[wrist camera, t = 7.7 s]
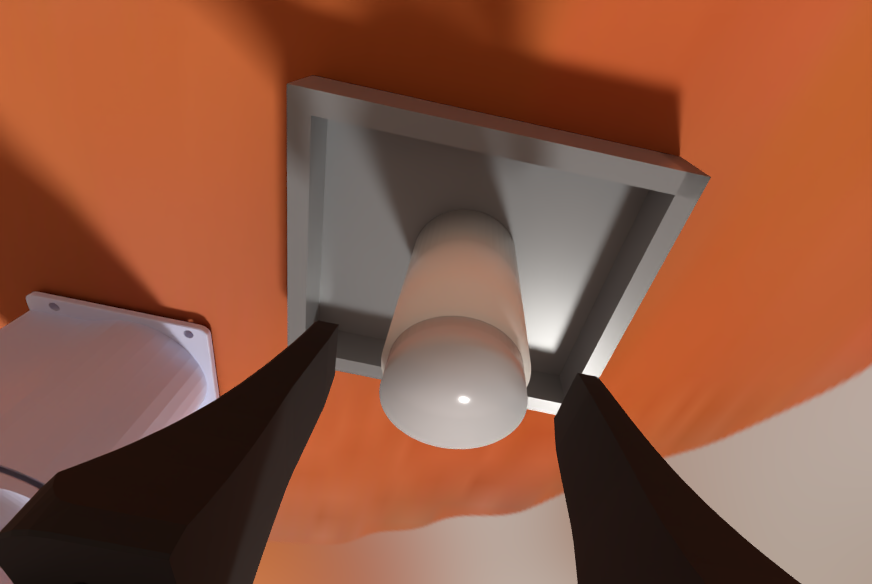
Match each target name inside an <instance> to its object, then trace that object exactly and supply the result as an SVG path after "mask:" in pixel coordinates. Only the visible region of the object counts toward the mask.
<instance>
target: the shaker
mask: <svg viewBox="0 0 872 584" xmlns="http://www.w3.org/2000/svg"><path fill="white" fill-rule="evenodd" d="M381 368H382V372H383V377H382V380H381V384H380V391H379V394H380V401H381V405H382V407H383V410H384V412H385V413H386V415H387V417H388V418H389V419H390V421H391V422H392V423H393V424H394V425H395V426H396V427H397V428H398V429H400V430H401V431H402V432H404V433H405V434H407V435H408V436H410V437H412V438H414V439H416V440H418V441H420V442H423V443H426V444H429V445H433V446H436V447H442V448H449V449H470V448H477V447H482V446H486V445H489V444H492V443H495V442H497V441H499V440H501V439H503V438H504V437H506V436H507V435H509V434H510V433H511V432H513V431H514V430H515V429H516V428H517V427H518V425H519V424H520V423H521V421H522V420H523V418H524V416H525V413H526V410H527V405H528V397H527V386H528V383H529V381H530V376H531V361H530V354H529V347H528V339H527V332H526V324H525V317H524V310H523V302H522V295H521V287H520V280H519V273H518V265H517V258H516V251H515V245H514V242H513V239H512V237H511V235H510V234H509V232H508V231H507V229H506V228H505V227H504V226H503V225H502V224H501V223H500V222H499V221H497V220H496V219H494V218H493V217H491V216H489V215H487V214H485V213H482V212H478V211H473V210H455V211H450V212H447V213H444V214H441V215H439V216H437V217H436V218H434V219H433V220H431V221H430V222H429V223H428V224H427V225H426V226H425V227H424V228H423V229H422V231H421V232H420V234H419V235H418V237H417V240H416V243H415V246H414V249H413V253H412V256H411V259H410V263H409V266H408V269H407V272H406V276H405V279H404V282H403V286H402V289H401V292H400V296H399V299H398V302H397V305H396V309H395V312H394V315H393V319H392V322H391V325H390V328H389V332H388V335H387V338H386V342H385V345H384V348H383V352H382V357H381Z"/></svg>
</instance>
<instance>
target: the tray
mask: <svg viewBox="0 0 872 584" xmlns="http://www.w3.org/2000/svg"><path fill="white" fill-rule="evenodd" d="M710 178H711V177H710V176H708V175H707V174H705V173H704V172H702V171H701V170H699V169H698V168H696V167H695V166H693V165H692V164H690V163H689V162H687V161H686V160H684V159H683V158H681V157H679V156H675V155H670V154H666V153H661V152H657V151H652V150H648V149H643V148H639V147H634V146H630V145H625V144H621V143H616V142H612V141H607V140H603V139H598V138H593V137H589V136H584V135H580V134H575V133H571V132H566V131H562V130H557V129H553V128H548V127H544V126H539V125H535V124H530V123H526V122H521V121H517V120H512V119H508V118H503V117H499V116H494V115H490V114H485V113H481V112H476V111H472V110H467V109H463V108H458V107H454V106H449V105H445V104H440V103H436V102H431V101H427V100H422V99H418V98H413V97H409V96H404V95H400V94H395V93H391V92H386V91H382V90H377V89H373V88H368V87H364V86H359V85H355V84H350V83H346V82H341V81H337V80H332V79H328V78H323V77H319V76H314V75H312V76H309V77H306V78H303V79H299V80H296V81H293V82H290V83H287V291H288V346H289V345H290V344H292V343H293V342H294V341H295V340H296V339H297V338H298V337H299V336H301V335H302V334H303V333H304V332H305V331H306V330H307V329H308V328H309V327H310V326H311V325H312V324H313V323H315V322H316V321H318V320H319V321H324V322H329V323H334V324H339V329H338V341H337V353H336V366H335V370H337V371H342V372H347V373H352V374H357V375H362V376H366V377H371V378H376V379H381V380H382V377H383V372H382V368H381V357H382V352H383V348H384V345H385V342H386V338H387V335H388V332H389V328H390V325H391V322H392V319H393V315H394V312H395V309H396V305H397V302H398V299H399V296H400V292H401V289H402V286H403V282H404V279H405V276H406V272H407V269H408V266H409V263H410V259H411V256H412V253H413V249H414V246H415V243H416V240H417V237H418V235H419V234H420V232H421V231H422V229H423V228H424V227H425V226H426V225H427V224H428V223H429V222H430V221H431V220H433V219H434V218H436V217H437V216H439V215H441V214H444V213H447V212H450V211H455V210H473V211H478V212H482V213H485V214H487V215H489V216H491V217H493V218H494V219H496V220H497V221H499V222H500V223H501V224H502V225H503V226H504V227H505V228H506V229H507V231H508V232H509V234H510V235H511V237H512V239H513V242H514V245H515V251H516V258H517V265H518V273H519V280H520V287H521V295H522V302H523V310H524V317H525V324H526V332H527V339H528V347H529V354H530V361H531V376H530V381H529V383H528V386H527V397H528V405H527V409H529V410H534V411H539V412H544V413H549V414H554V415H556V414H557V412H558V410H559V408H560V406H561V404H562V402H563V400H564V398H565V396H566V394H567V392H568V390H569V388H570V386H571V384H572V382H573V380H574V379H575V377H576V375H577V373H581V374H586V375H591V376H596V377H598V378H599V377H600V375H601V373H602V372H603V370H604V368H605V366H606V364H607V363H608V361H609V359H610V357H611V355H612V354H613V352H614V350H615V348H616V347H617V345H618V343H619V341H620V339H621V338H622V336H623V334H624V332H625V330H626V329H627V327H628V325H629V323H630V321H631V320H632V318H633V316H634V314H635V312H636V311H637V309H638V307H639V305H640V303H641V302H642V300H643V298H644V296H645V294H646V293H647V291H648V289H649V287H650V285H651V284H652V282H653V280H654V278H655V277H656V275H657V273H658V271H659V269H660V268H661V266H662V264H663V262H664V260H665V259H666V257H667V255H668V253H669V251H670V250H671V248H672V246H673V244H674V242H675V241H676V239H677V237H678V235H679V233H680V232H681V230H682V228H683V226H684V224H685V223H686V221H687V219H688V217H689V216H690V214H691V212H692V210H693V208H694V207H695V205H696V203H697V201H698V199H699V198H700V196H701V194H702V192H703V190H704V189H705V187H706V185H707V183H708V181H709V180H710Z"/></svg>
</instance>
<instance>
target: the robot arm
mask: <svg viewBox="0 0 872 584" xmlns="http://www.w3.org/2000/svg"><path fill="white" fill-rule="evenodd" d="M26 302H27V304H28V307H29V309H30V310H29V311H28V312H26V313H25V314H23V315H22V316H20V317H18V318H17V319H15V320H14V321H12V322H11V323H9V324H7V325H6V326H4V327H3V328H1V329H0V584H253V581H254V578H255V575H256V572H257V569H258V566H259V563H260V560H261V557H262V554H263V551H264V549H265V546H266V543H267V540H268V537H269V534H270V532H271V529H272V526H273V523H274V520H275V518H276V515H277V512H278V509H279V507H280V504H281V501H282V498H283V496H284V493H285V490H286V487H287V485H288V483H289V480H290V478H291V476H292V473H293V471H294V469H295V467H296V465H297V463H298V461H299V458H300V456H301V454H302V452H303V450H304V448H305V446H306V444H307V442H308V439H309V437H310V435H311V433H312V431H313V429H314V427H315V425H316V423H317V420H318V418H319V416H320V414H321V412H322V410H323V408H324V405H325V402H326V400H327V397H328V394H329V391H330V388H331V385H332V382H333V379H334V376H335V366H336V353H337V341H338V329H339V324H334V323H329V322H324V321H319V320H318V321H316V322H315V323H313V324H312V325H311V326H310V327H309V328H308V329H307V330H306V331H305V332H304V333H303V334H302V335H301V336H299V337H298V338H297V339H296V340H295V341H294V342H293V343H292V344H290V345H289V346H288V347H287V348H286V349H285V350H283V351H282V352H281V353H280V354H278V355H277V356H276V357H275V358H274V359H272V360H271V361H270V362H269V363H267V364H266V365H265V366H264V367H262V368H261V369H259V370H258V371H257V372H255V373H254V374H253V375H251V376H250V377H249V378H247V379H246V380H244V381H243V382H242V383H240V384H239V385H237V386H236V387H234V388H233V389H231V390H230V391H228V392H227V393H225V394H224V395H222V396H220V397H219V390H218V383H217V375H216V368H215V360H214V353H213V345H212V337H211V333H210V330H209V329H208V328H207V327H205V326H203V325H199V324H195V323H190V322H185V321H180V320H175V319H170V318H165V317H160V316H155V315H150V314H145V313H141V312H136V311H131V310H126V309H121V308H116V307H111V306H106V305H101V304H96V303H91V302H87V301H82V300H77V299H72V298H67V297H62V296H57V295H52V294H47V293H42V292H36V291H34V292H32V293H30V294H28V295H27V296H26ZM190 331H191V332H192V333H191V332H190ZM554 426H555V442H556V452H557V458H558V463H559V468H560V473H561V479H562V483H563V488H564V493H565V498H566V503H567V508H568V513H569V518H570V523H571V529H572V534H573V541H574V550H575V560H576V570H577V580H578V584H801V583H799V582H798V581H797V580H795V579H794V578H793V577H792V576H790V575H789V574H788V573H786V572H785V571H784V570H783V569H781V568H780V567H779V566H778V565H776V564H775V563H774V562H773V561H771V560H770V559H769V558H768V557H766V556H765V555H764V554H763V553H761V552H760V551H759V550H758V549H757V548H755V547H754V546H753V545H752V544H751V543H749V542H748V541H747V540H746V539H745V538H743V537H742V536H741V535H740V534H739V533H738V532H737V531H736V530H735V529H733V528H732V527H731V526H730V525H729V524H728V523H727V522H726V521H724V520H723V519H722V518H721V517H720V516H719V515H718V514H717V513H716V512H715V511H714V510H712V509H711V508H710V507H709V506H708V505H707V504H706V503H705V502H704V501H703V500H702V499H701V498H700V497H699V496H698V495H697V494H696V493H695V492H694V491H693V490H692V489H691V488H690V487H689V486H688V485H687V484H686V483H685V482H684V481H683V480H682V479H681V478H680V477H679V475H678V474H677V473H676V472H675V471H674V470H673V469H672V468H671V467H670V466H669V465H668V464H667V462H666V461H665V460H664V459H663V458H662V457H661V455H660V454H659V453H658V452H657V451H656V450H655V449H654V447H653V446H652V445H651V444H650V443H649V441H648V440H647V439H646V438H645V437H644V435H643V434H642V433H641V432H640V430H639V429H638V428H637V427H636V425H635V424H634V423H633V422H632V420H631V419H630V418H629V416H628V415H627V414H626V413H625V411H624V410H623V409H622V407H621V406H620V405H619V404H618V402H617V401H616V400H615V398H614V397H613V396H612V394H611V393H610V392H609V391H608V389H607V388H606V387H605V385H604V384H603V383H602V382H601V381H600V379H599V378H598V377H596V376H591V375H586V374H581V373H577V375H576V377H575V379H574V380H573V382H572V384H571V386H570V388H569V390H568V392H567V394H566V396H565V398H564V400H563V402H562V404H561V406H560V408H559V410H558V412H557V414H556V416H555V418H554Z"/></svg>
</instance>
